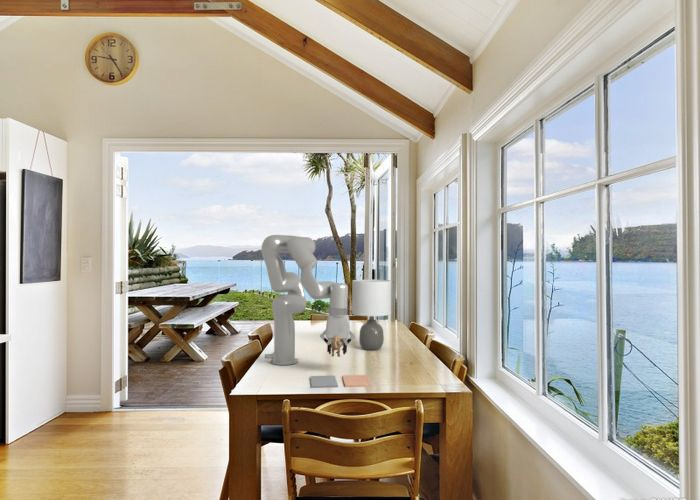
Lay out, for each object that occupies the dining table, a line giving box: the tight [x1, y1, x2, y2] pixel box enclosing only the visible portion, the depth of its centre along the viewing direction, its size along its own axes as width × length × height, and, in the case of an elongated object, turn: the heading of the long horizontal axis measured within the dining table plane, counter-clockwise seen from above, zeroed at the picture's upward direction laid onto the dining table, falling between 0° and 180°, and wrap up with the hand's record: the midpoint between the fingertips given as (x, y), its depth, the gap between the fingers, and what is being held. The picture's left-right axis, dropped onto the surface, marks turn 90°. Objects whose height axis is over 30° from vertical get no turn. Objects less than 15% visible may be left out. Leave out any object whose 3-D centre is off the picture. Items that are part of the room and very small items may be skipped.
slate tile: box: [310, 375, 339, 389], centre depth 198 cm, size 10×16×1 cm, turn 6°
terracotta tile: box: [342, 374, 372, 388], centre depth 199 cm, size 10×16×1 cm, turn 5°
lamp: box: [351, 279, 392, 351], centre depth 267 cm, size 21×21×37 cm
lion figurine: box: [330, 336, 348, 357], centre depth 217 cm, size 15×5×9 cm, turn 169°
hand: (336, 353), depth 215 cm, fingers closed on lion figurine, 5 cm apart
